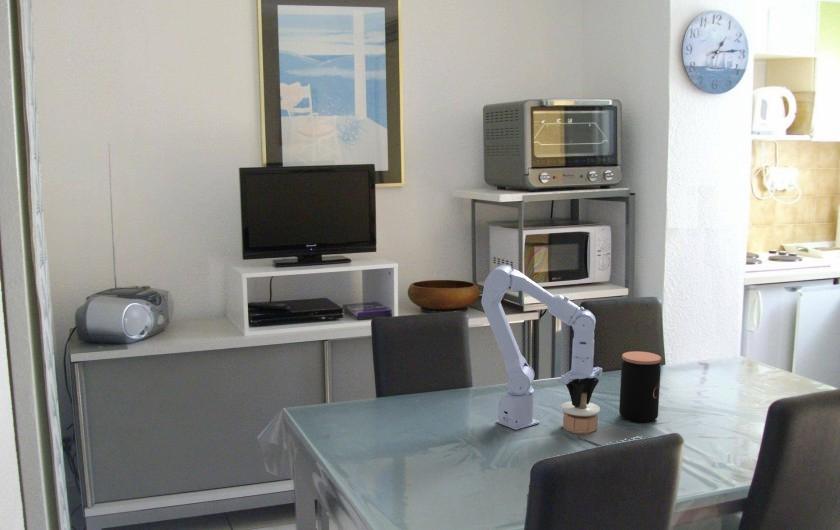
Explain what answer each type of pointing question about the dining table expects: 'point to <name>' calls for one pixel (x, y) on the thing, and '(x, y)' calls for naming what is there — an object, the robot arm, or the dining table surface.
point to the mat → (608, 436)
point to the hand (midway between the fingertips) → (580, 404)
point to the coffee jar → (640, 387)
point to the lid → (581, 407)
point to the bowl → (580, 423)
